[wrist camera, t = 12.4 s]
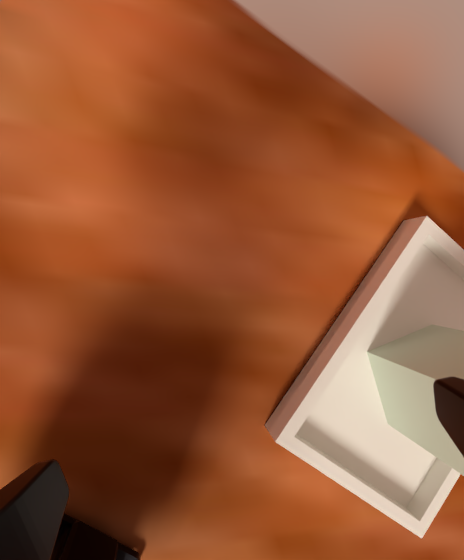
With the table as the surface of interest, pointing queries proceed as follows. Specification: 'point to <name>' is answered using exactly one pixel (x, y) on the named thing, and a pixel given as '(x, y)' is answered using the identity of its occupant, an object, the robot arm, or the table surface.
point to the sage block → (419, 386)
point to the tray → (362, 387)
